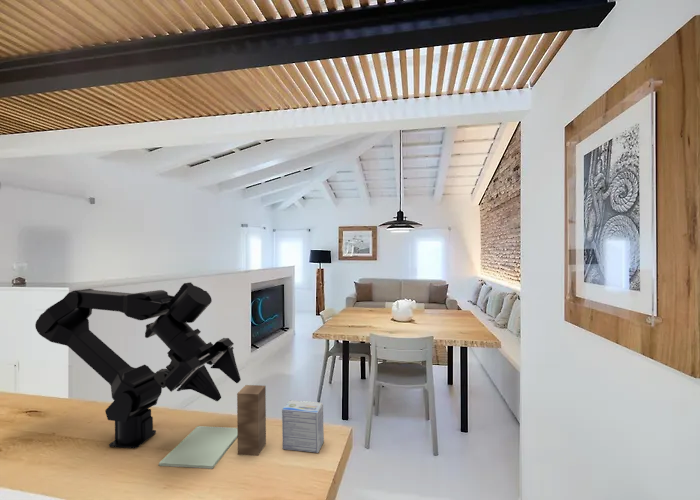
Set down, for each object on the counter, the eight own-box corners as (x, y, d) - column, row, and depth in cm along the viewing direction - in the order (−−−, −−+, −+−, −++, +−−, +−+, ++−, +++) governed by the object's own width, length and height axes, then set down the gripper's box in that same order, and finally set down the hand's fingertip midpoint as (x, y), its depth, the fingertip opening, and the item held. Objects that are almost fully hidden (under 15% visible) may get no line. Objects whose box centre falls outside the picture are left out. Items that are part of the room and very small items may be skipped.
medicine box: (324, 442, 74) (323, 402, 74) (318, 454, 70) (317, 411, 70) (289, 438, 76) (289, 399, 76) (281, 450, 72) (281, 408, 72)
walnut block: (237, 454, 70) (237, 393, 70) (246, 442, 74) (245, 384, 74) (258, 455, 70) (258, 394, 70) (265, 443, 74) (265, 385, 74)
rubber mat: (158, 465, 67) (158, 463, 67) (197, 428, 81) (197, 426, 81) (212, 468, 66) (212, 466, 66) (242, 430, 80) (242, 428, 80)
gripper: (180, 350, 83) (224, 397, 82) (122, 379, 65) (178, 440, 64) (211, 318, 83) (256, 365, 81) (160, 338, 64) (218, 399, 63)
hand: (229, 390), depth 72 cm, fingers open, 9 cm apart
